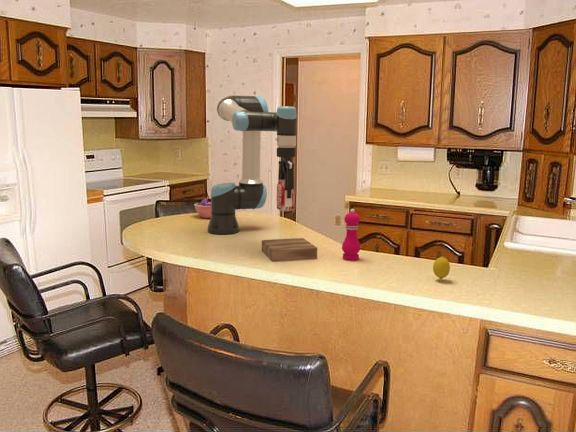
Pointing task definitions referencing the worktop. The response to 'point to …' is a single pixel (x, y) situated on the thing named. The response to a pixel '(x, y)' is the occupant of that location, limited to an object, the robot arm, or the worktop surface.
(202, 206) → the cell model
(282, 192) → the soda can
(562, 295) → the worktop surface
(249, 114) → the robot arm
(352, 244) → the pepper mill
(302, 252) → the walnut board
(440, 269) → the lemon
